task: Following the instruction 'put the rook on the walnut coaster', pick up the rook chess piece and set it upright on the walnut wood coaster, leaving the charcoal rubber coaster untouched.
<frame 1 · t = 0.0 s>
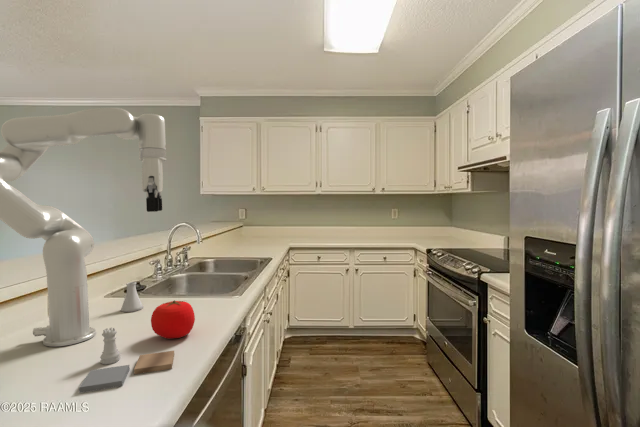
hand: (154, 211, 111), 37 cm above the worktop, tool pointing down, fingers open, 9 cm apart
charcoal coaster: (105, 380, 80), on the worktop
tomato: (174, 337, 105), on the worktop
rook chess piece: (110, 361, 90), on the worktop
walnut coaster: (155, 364, 87), on the worktop
flask: (132, 310, 132), on the worktop
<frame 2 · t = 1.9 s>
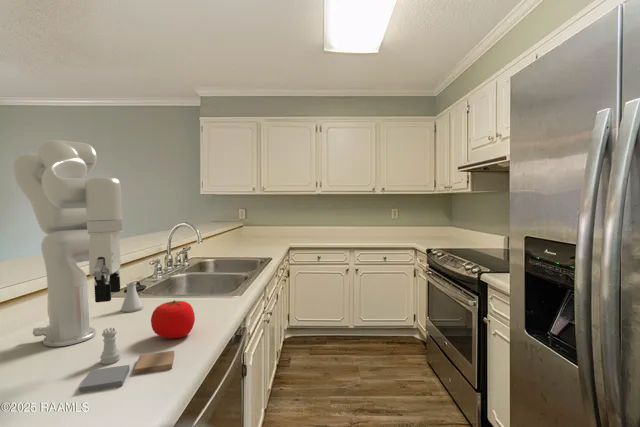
hand: (108, 296, 89), 16 cm above the worktop, tool pointing down, fingers open, 9 cm apart
nothing on the worktop moved.
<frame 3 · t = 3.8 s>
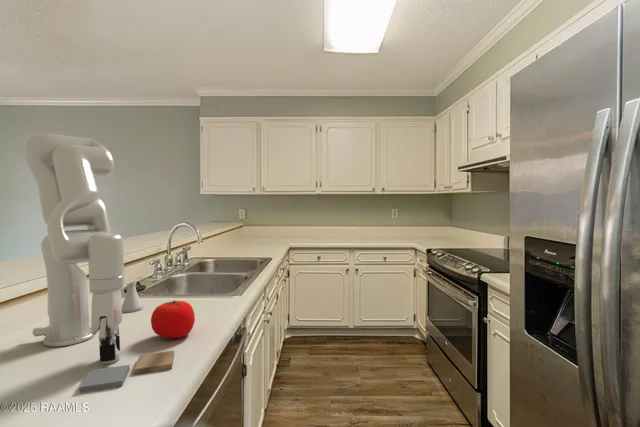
hand: (110, 355, 90), 1 cm above the worktop, tool pointing down, fingers closed on rook chess piece, 4 cm apart
rook chess piece: (110, 361, 90), on the worktop, touching gripper
everything else where it was.
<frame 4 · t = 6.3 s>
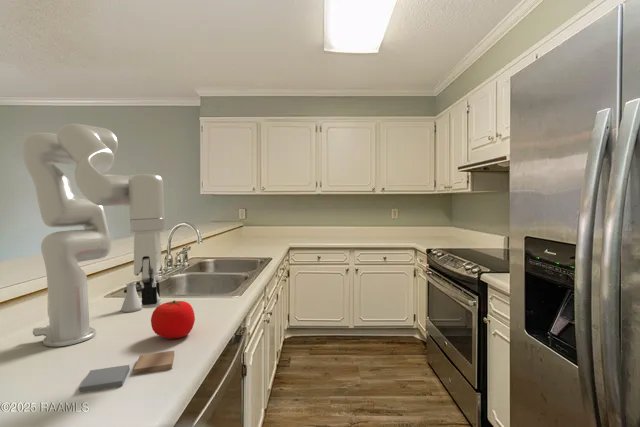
hand: (151, 300, 87), 16 cm above the worktop, tool pointing down, fingers closed on rook chess piece, 4 cm apart
rook chess piece: (151, 306, 87), point 14 cm above the worktop, touching gripper
everything else where it was.
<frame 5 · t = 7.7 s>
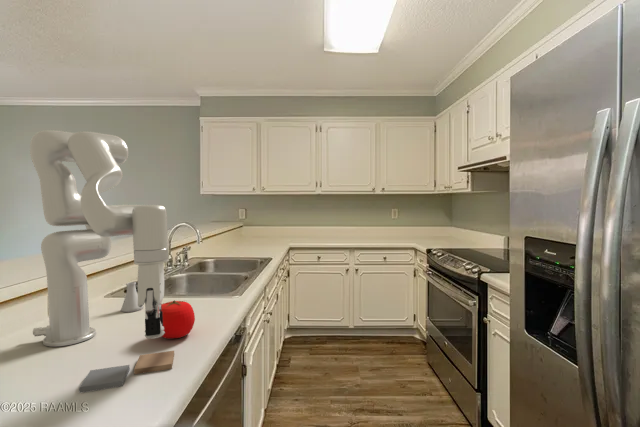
hand: (154, 330, 87), 8 cm above the worktop, tool pointing down, fingers closed on rook chess piece, 4 cm apart
rook chess piece: (154, 336, 87), point 7 cm above the worktop, touching gripper
everything else where it was.
when the fingers open (3 cm above the worktop, at t = 8.9 s): rook chess piece stays where it is, resting on walnut coaster.
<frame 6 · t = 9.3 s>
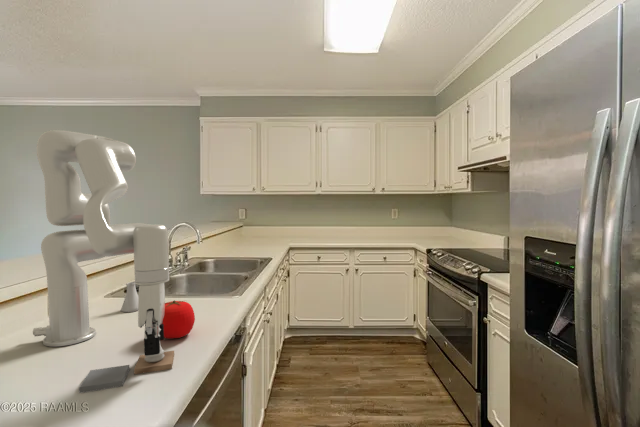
hand: (154, 346, 87), 4 cm above the worktop, tool pointing down, fingers open, 8 cm apart
rook chess piece: (154, 359, 87), point 1 cm above the worktop, touching walnut coaster
everything else where it was.
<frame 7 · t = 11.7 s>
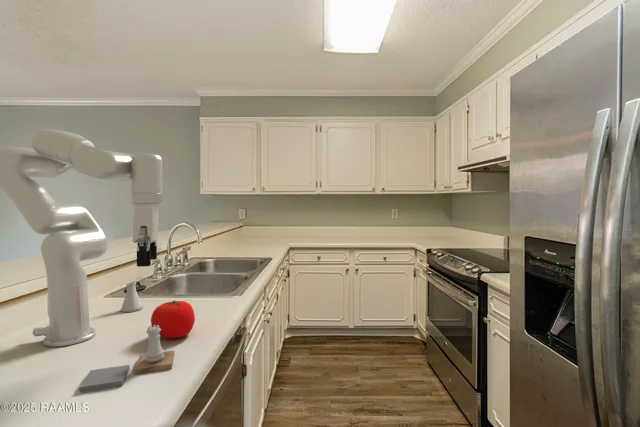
hand: (147, 262, 98), 23 cm above the worktop, tool pointing down, fingers open, 9 cm apart
nothing on the worktop moved.
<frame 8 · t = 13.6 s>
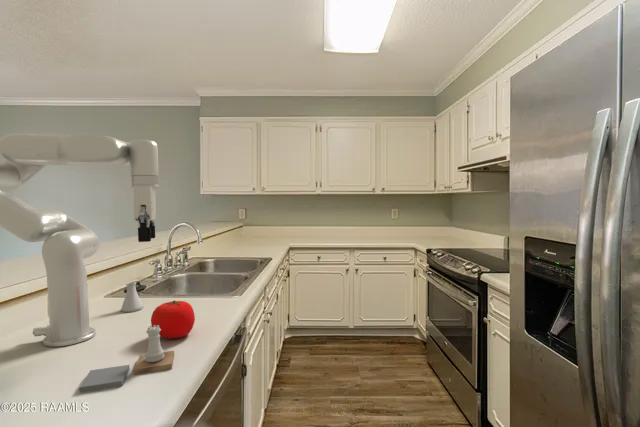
hand: (147, 239, 107), 28 cm above the worktop, tool pointing down, fingers open, 9 cm apart
nothing on the worktop moved.
at the end: rook chess piece 0.1 cm off-centre on the walnut coaster, point 1.0 cm above the walnut coaster's base; rook chess piece tilted 0°; rook chess piece touching walnut coaster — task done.
